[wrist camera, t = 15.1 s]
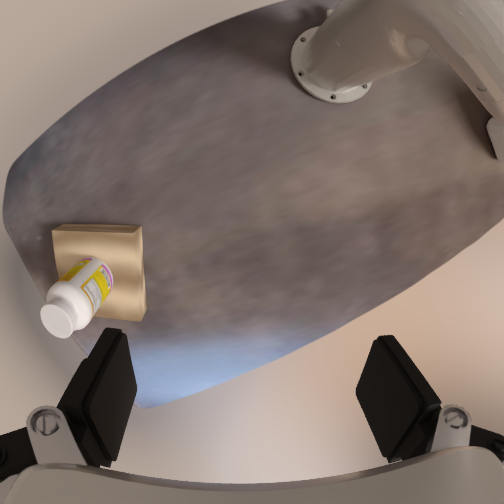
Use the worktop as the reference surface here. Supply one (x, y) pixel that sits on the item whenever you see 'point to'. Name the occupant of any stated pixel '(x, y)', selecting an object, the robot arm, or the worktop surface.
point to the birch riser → (107, 263)
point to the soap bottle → (497, 137)
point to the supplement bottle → (76, 297)
